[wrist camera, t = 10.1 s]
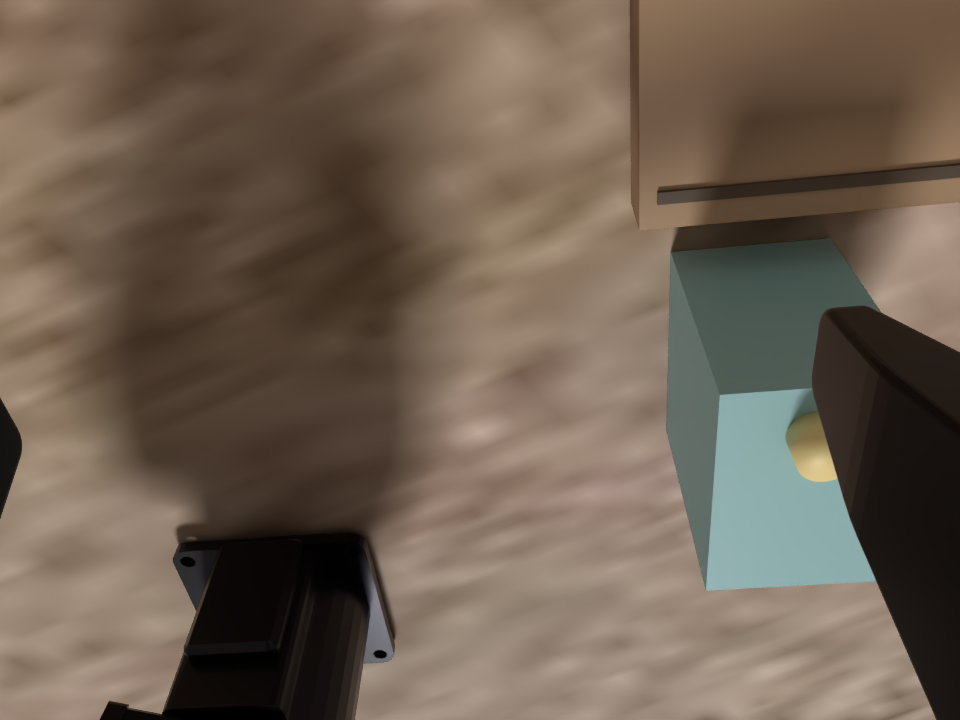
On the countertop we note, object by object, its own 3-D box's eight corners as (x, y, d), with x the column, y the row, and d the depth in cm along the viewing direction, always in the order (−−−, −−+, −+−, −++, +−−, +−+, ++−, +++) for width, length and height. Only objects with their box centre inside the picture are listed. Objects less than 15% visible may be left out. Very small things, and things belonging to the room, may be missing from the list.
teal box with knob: (803, 418, 25) (889, 608, 19) (665, 428, 25) (712, 618, 20) (829, 237, 21) (944, 405, 16) (670, 251, 22) (728, 420, 16)
